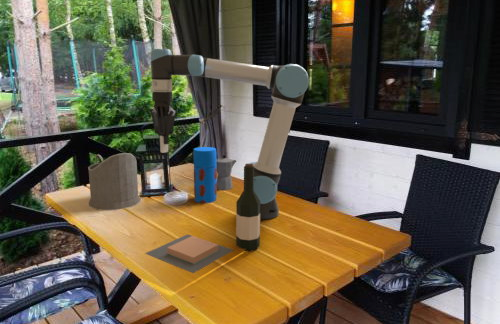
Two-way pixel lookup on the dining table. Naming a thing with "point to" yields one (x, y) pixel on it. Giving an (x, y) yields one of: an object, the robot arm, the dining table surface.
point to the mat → (164, 256)
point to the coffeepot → (224, 173)
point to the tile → (192, 249)
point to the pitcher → (114, 182)
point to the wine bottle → (248, 214)
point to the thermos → (205, 174)
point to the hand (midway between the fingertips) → (164, 152)
